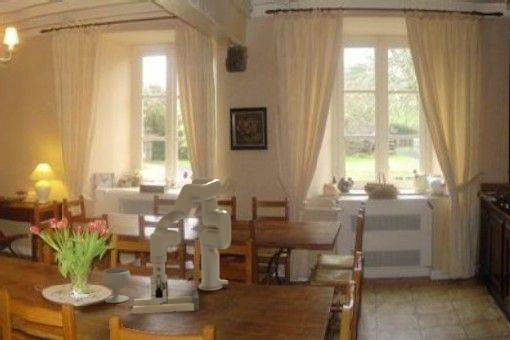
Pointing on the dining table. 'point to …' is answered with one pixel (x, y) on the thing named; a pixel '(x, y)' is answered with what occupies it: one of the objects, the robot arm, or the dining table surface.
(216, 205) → the robot arm
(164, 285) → the syrup box
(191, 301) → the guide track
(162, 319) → the dining table surface
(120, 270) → the chalice
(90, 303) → the dining table surface
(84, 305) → the dining table surface
